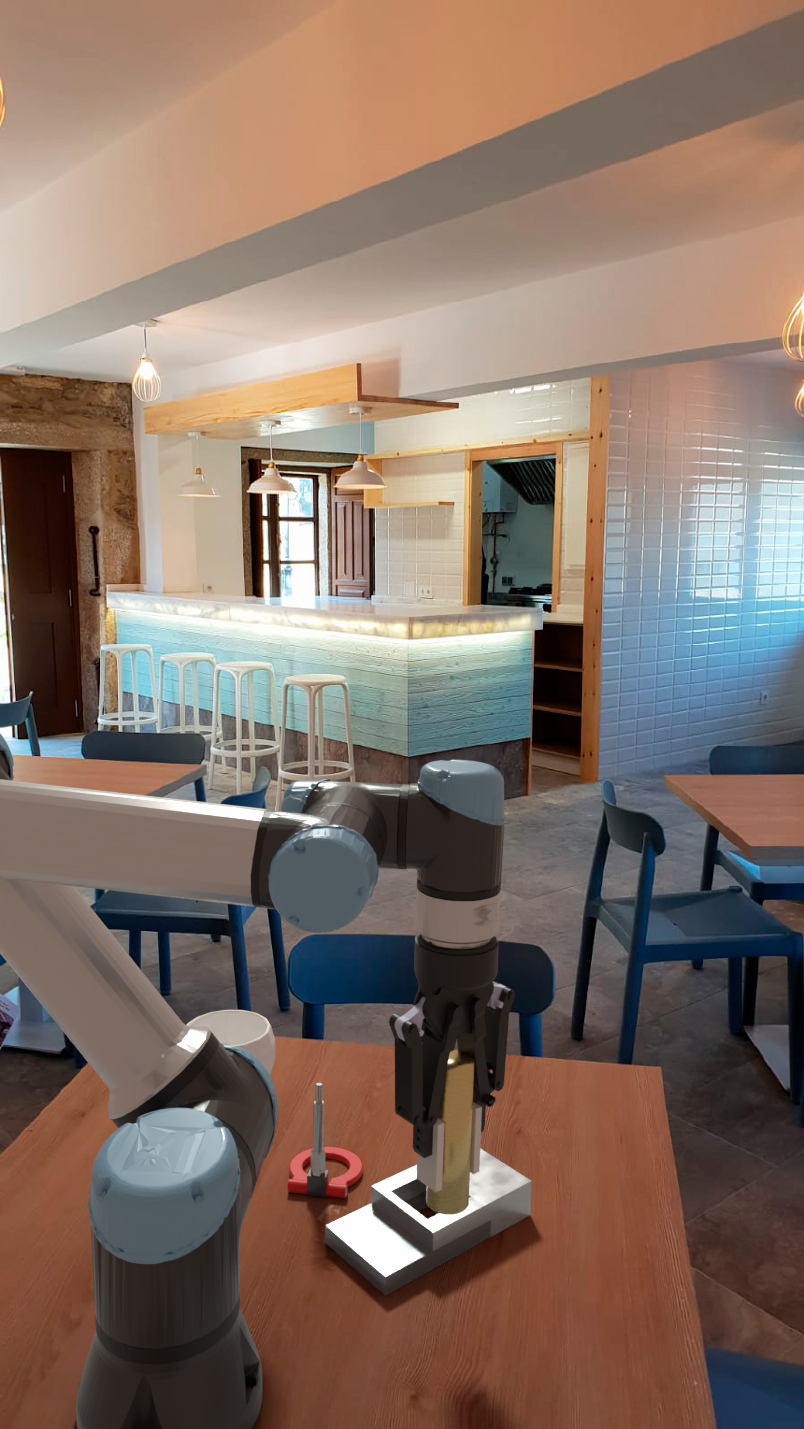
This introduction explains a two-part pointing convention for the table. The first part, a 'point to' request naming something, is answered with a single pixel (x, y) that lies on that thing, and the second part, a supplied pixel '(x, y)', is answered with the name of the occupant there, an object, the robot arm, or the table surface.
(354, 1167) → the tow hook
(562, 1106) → the table surface
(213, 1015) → the cup
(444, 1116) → the pin
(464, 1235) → the square hole base
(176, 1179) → the robot arm
